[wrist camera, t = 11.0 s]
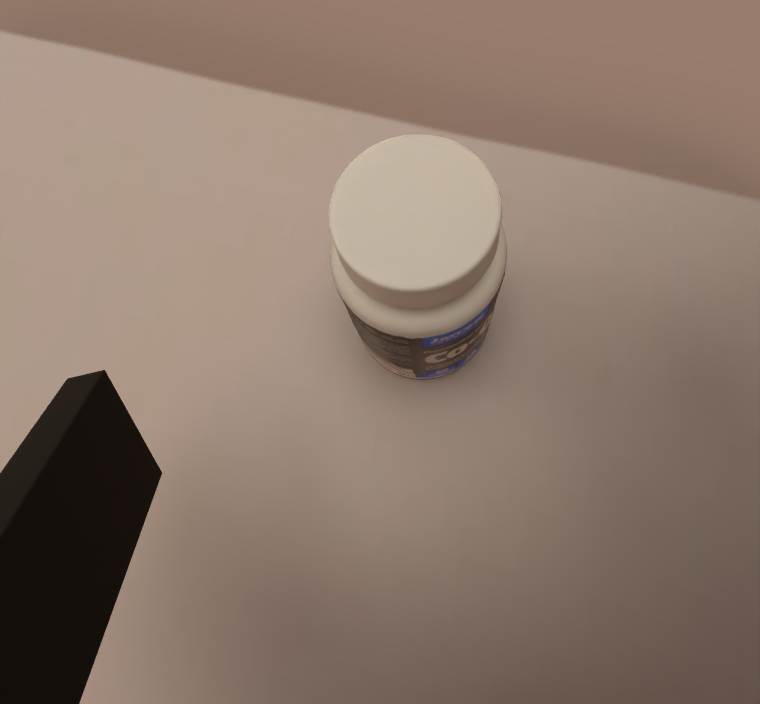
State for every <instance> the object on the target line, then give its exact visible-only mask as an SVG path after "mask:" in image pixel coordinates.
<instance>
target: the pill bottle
mask: <svg viewBox="0 0 760 704" xmlns="http://www.w3.org/2000/svg"><path fill="white" fill-rule="evenodd" d="M501 219H502V205H501V197H500V192H499V189H498V186H497V183H496V181H495V179H494V177H493V175H492V174H491V172H490V170H489V169H488V167H487V166H486V165H485V163H484V162H483V161H482V160H481V159H480V158H479V157H478V156H477V155H476V154H474V153H473V152H472V151H471V150H469V149H468V148H466V147H465V146H463V145H461V144H459V143H457V142H455V141H453V140H450V139H447V138H443V137H440V136H434V135H428V134H408V135H401V136H397V137H393V138H389V139H387V140H384V141H381V142H379V143H377V144H375V145H373V146H371V147H370V148H368V149H367V150H365V151H364V152H362V153H361V154H360V155H359V156H357V157H356V158H355V159H354V160H353V161H352V162H351V163H350V164H349V165H348V166H347V167H346V169H345V170H344V171H343V173H342V174H341V176H340V178H339V179H338V181H337V183H336V185H335V187H334V190H333V193H332V196H331V200H330V206H329V229H330V233H331V237H332V244H331V254H330V257H331V268H332V273H333V278H334V281H335V284H336V287H337V290H338V292H339V294H340V296H341V298H342V300H343V302H344V304H345V306H346V308H347V310H348V312H349V315H350V317H351V319H352V322H353V324H354V326H355V327H356V329H357V331H358V333H359V335H360V337H361V339H362V341H363V343H364V345H365V346H366V348H367V349H368V351H369V352H370V353H371V355H372V356H373V357H374V358H375V359H376V360H377V361H378V362H379V363H380V364H381V365H383V366H384V367H385V368H387V369H389V370H390V371H392V372H394V373H396V374H399V375H401V376H405V377H409V378H416V379H429V378H436V377H440V376H444V375H447V374H449V373H451V372H454V371H455V370H457V369H458V368H460V367H461V366H463V365H464V364H465V363H467V362H468V361H469V360H470V359H471V358H472V357H473V355H474V354H475V353H476V352H477V350H478V349H479V347H480V346H481V344H482V342H483V340H484V338H485V335H486V333H487V330H488V326H489V323H490V320H491V316H492V313H493V310H494V306H495V302H496V299H497V296H498V293H499V290H500V287H501V284H502V281H503V277H504V275H505V266H506V260H507V246H506V239H505V234H504V230H503V226H502V224H501Z"/></svg>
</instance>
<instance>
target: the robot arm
mask: <svg viewBox="0 0 760 704" xmlns="http://www.w3.org/2000/svg"><path fill="white" fill-rule="evenodd" d="M161 475H162V472H161V470H160V468H159V466H158V465H157V463H156V461H155V459H154V457H153V456H152V454H151V452H150V450H149V449H148V447H147V445H146V443H145V441H144V440H143V438H142V436H141V434H140V432H139V431H138V429H137V427H136V425H135V423H134V422H133V420H132V418H131V416H130V414H129V413H128V411H127V409H126V407H125V406H124V404H123V402H122V400H121V398H120V397H119V395H118V393H117V391H116V389H115V388H114V386H113V384H112V382H111V380H110V379H109V377H108V375H107V373H106V371H105V370H102V371H98V372H94V373H90V374H85V375H81V376H77V377H73V378H68V379H67V380H66V381H65V383H64V384H63V386H62V387H61V389H60V390H59V391H58V393H57V394H56V396H55V397H54V398H53V400H52V401H51V403H50V404H49V405H48V407H47V408H46V410H45V411H44V412H43V414H42V415H41V417H40V418H39V420H38V421H37V422H36V424H35V425H34V427H33V428H32V429H31V431H30V432H29V434H28V435H27V436H26V438H25V439H24V441H23V442H22V443H21V445H20V446H19V448H18V449H17V451H16V452H15V453H14V455H13V456H12V458H11V459H10V460H9V462H8V463H7V465H6V466H5V467H4V469H3V470H2V472H1V473H0V704H79V703H80V700H81V697H82V694H83V691H84V689H85V686H86V683H87V680H88V678H89V675H90V672H91V669H92V666H93V664H94V661H95V658H96V655H97V653H98V650H99V647H100V644H101V641H102V639H103V636H104V633H105V630H106V628H107V625H108V622H109V619H110V616H111V614H112V611H113V608H114V605H115V602H116V600H117V597H118V594H119V591H120V589H121V586H122V583H123V580H124V577H125V575H126V572H127V569H128V566H129V564H130V561H131V558H132V555H133V552H134V550H135V547H136V544H137V541H138V539H139V536H140V533H141V530H142V527H143V525H144V522H145V519H146V516H147V513H148V511H149V508H150V505H151V502H152V500H153V497H154V494H155V491H156V488H157V486H158V483H159V480H160V477H161Z"/></svg>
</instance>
